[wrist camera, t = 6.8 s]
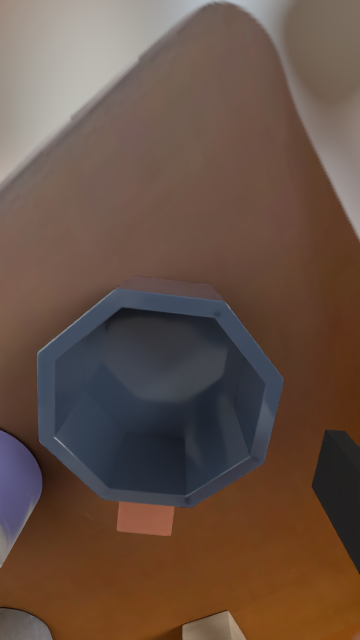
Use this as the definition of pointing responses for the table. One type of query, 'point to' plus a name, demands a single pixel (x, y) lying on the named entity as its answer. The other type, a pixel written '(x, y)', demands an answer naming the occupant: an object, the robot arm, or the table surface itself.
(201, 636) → the block
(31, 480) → the container
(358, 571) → the robot arm
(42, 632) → the pillar candle
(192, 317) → the bowl
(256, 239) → the table surface
